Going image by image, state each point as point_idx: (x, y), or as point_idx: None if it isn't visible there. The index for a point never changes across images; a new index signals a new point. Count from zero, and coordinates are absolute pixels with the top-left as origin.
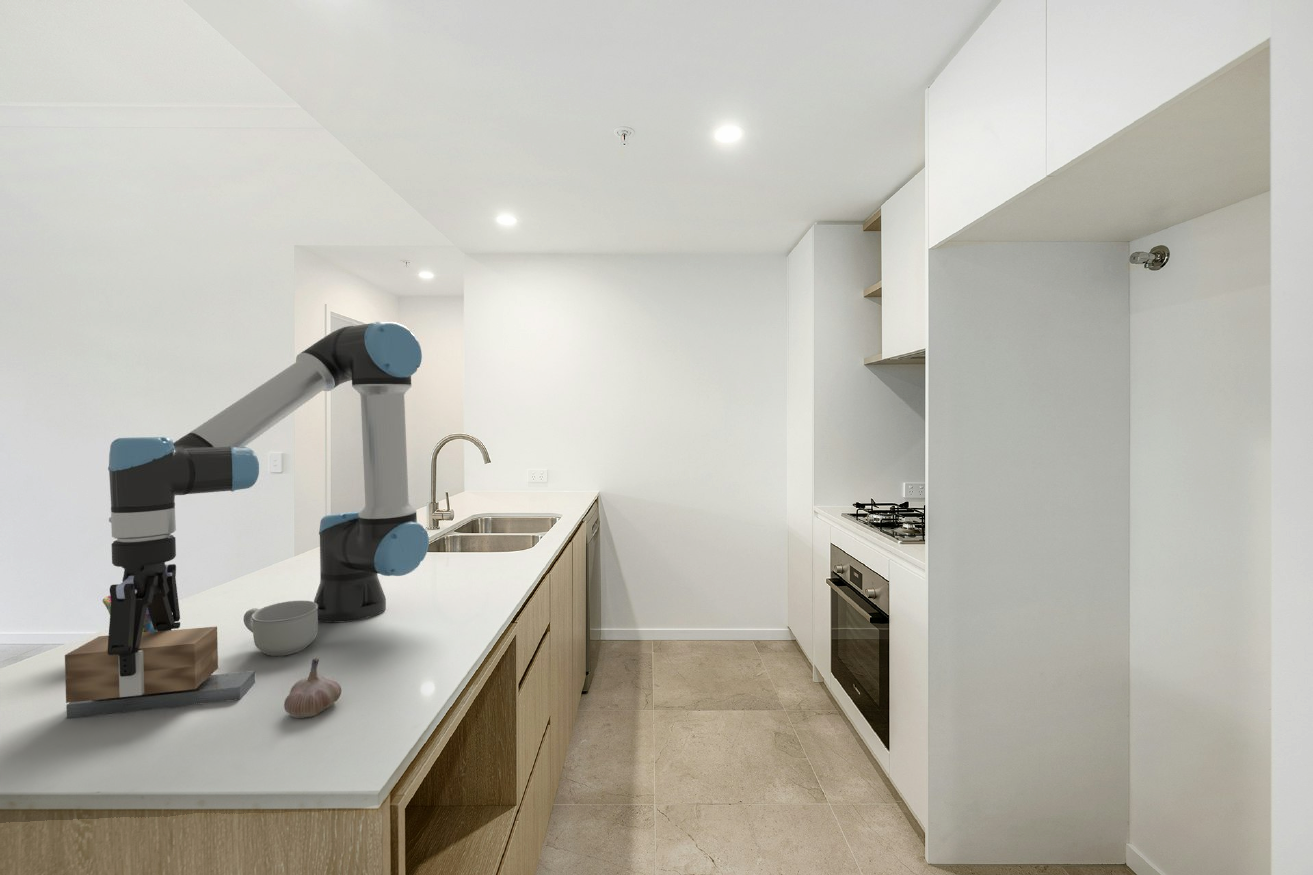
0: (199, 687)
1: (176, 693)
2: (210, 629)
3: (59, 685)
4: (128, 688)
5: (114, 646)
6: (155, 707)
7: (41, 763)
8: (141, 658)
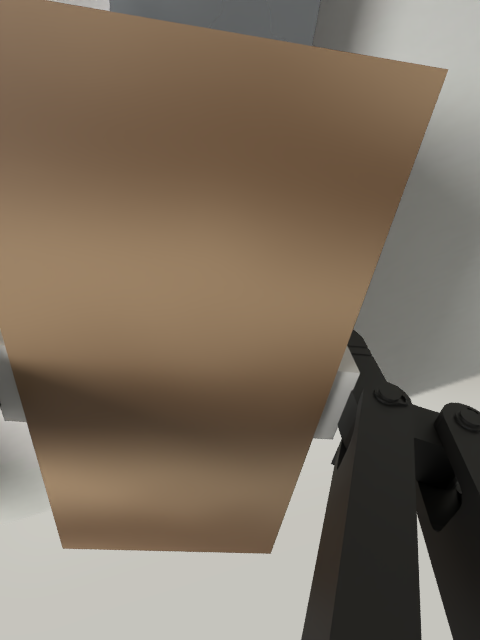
0: None
1: None
2: (13, 32)
3: (34, 462)
4: None
5: (457, 484)
6: None
7: (471, 347)
8: None
